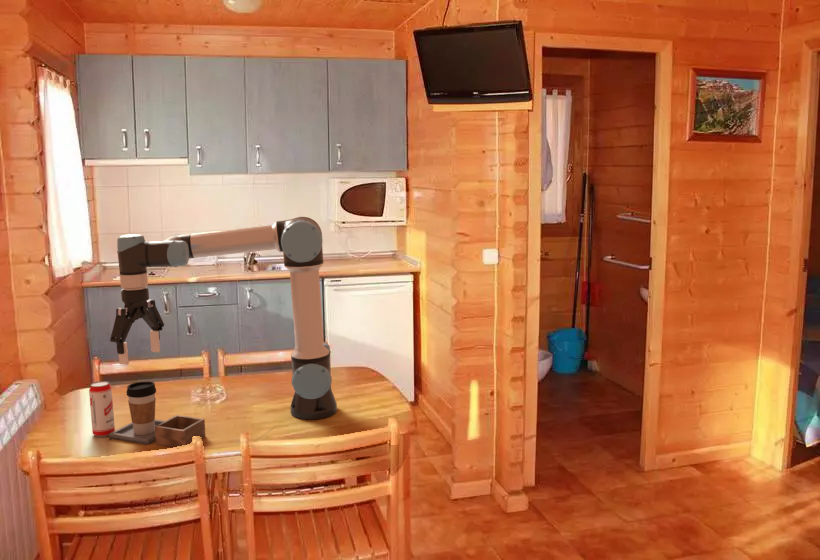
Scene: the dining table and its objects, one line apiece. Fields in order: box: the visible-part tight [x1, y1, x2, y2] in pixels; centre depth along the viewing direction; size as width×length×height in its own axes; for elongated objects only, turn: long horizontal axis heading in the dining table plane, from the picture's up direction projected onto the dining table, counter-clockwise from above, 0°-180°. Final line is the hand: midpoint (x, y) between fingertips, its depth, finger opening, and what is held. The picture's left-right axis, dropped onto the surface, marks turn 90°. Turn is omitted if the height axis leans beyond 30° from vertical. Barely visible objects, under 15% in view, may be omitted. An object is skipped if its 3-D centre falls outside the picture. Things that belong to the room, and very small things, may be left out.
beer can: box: [88, 380, 116, 438], centre depth 220 cm, size 6×6×16 cm
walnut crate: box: [155, 414, 206, 448], centre depth 214 cm, size 10×10×6 cm
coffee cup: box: [126, 381, 157, 435], centre depth 219 cm, size 8×8×15 cm
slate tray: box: [108, 419, 165, 446], centre depth 220 cm, size 14×14×2 cm
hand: (140, 357), depth 216 cm, fingers open, 13 cm apart
